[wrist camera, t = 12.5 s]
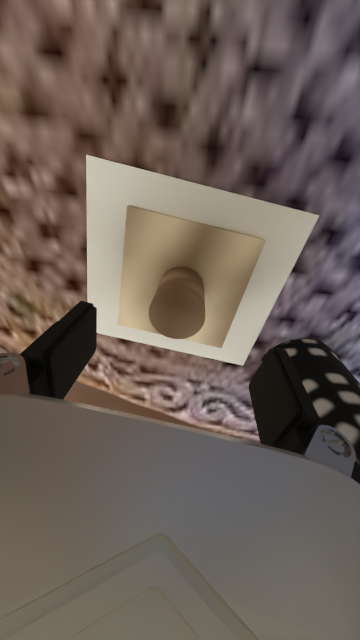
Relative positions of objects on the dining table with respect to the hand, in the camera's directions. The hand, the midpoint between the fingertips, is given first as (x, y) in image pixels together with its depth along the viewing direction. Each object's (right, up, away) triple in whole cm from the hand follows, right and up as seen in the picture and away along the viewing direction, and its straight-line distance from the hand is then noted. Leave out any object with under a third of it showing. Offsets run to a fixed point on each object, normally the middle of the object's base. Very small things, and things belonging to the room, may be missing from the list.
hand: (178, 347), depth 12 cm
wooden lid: (0, +5, +9) cm, 10 cm away
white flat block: (0, +5, +9) cm, 10 cm away
